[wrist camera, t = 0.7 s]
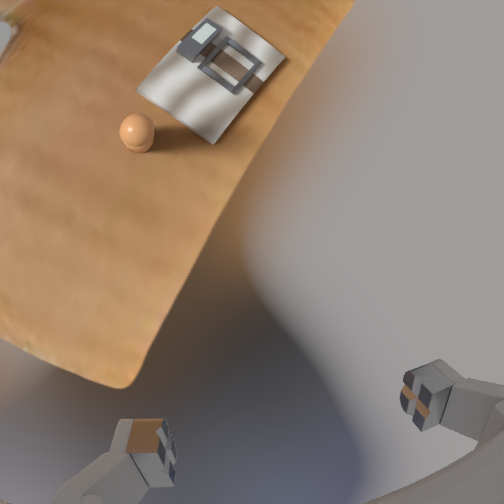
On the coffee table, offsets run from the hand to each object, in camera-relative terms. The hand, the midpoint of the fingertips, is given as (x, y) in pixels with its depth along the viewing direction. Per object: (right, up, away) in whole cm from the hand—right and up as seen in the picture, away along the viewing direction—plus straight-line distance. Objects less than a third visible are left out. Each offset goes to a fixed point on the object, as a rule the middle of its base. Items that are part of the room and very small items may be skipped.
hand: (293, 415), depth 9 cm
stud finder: (-10, +38, +31) cm, 50 cm away
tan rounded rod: (-18, +22, +34) cm, 44 cm away
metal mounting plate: (-8, +34, +34) cm, 49 cm away
